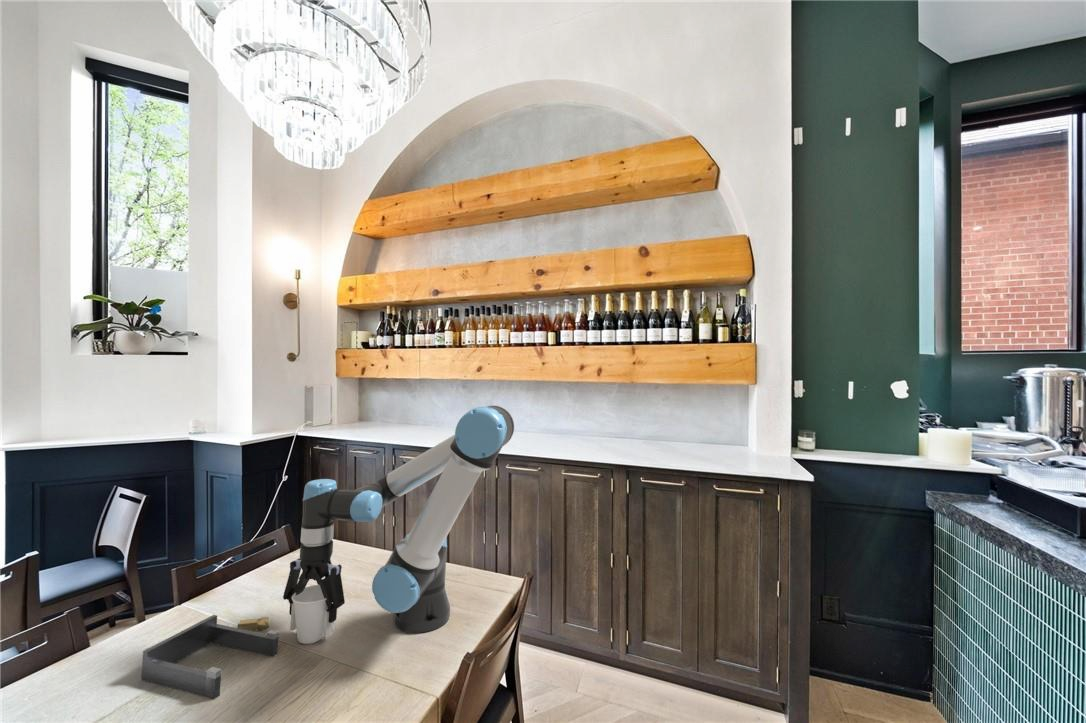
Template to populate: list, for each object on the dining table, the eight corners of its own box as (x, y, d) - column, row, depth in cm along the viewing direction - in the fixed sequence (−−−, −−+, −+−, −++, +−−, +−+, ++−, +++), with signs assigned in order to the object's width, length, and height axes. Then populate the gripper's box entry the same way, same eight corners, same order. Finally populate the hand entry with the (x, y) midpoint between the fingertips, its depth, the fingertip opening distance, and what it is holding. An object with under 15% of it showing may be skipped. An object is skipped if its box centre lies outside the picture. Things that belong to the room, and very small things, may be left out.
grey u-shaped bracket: (277, 654, 102) (279, 628, 102) (213, 699, 87) (216, 668, 87) (211, 639, 107) (213, 614, 107) (140, 679, 92) (143, 651, 92)
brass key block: (270, 624, 114) (270, 616, 115) (266, 629, 112) (267, 621, 112) (240, 627, 113) (241, 619, 113) (236, 633, 110) (236, 625, 110)
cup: (322, 622, 116) (325, 580, 117) (340, 636, 110) (342, 592, 110) (282, 638, 108) (285, 593, 109) (298, 654, 102) (301, 607, 103)
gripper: (363, 541, 111) (358, 630, 110) (293, 531, 117) (288, 616, 115) (343, 552, 104) (338, 647, 103) (269, 541, 109) (264, 631, 108)
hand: (311, 631), depth 109 cm, fingers closed on cup, 9 cm apart
